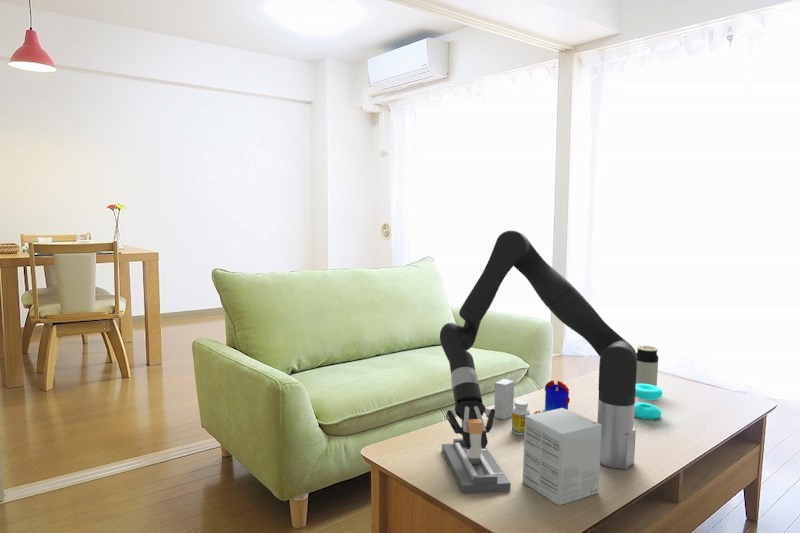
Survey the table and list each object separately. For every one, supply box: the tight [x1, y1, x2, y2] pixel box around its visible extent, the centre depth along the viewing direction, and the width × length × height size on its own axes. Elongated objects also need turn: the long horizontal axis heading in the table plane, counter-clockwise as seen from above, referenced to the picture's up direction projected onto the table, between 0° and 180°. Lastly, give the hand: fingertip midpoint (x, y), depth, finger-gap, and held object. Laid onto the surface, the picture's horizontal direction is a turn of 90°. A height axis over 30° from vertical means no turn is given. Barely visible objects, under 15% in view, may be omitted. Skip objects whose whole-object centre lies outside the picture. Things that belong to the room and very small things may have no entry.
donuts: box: [634, 384, 663, 421], centre depth 185 cm, size 10×10×10 cm
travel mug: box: [636, 345, 659, 387], centre depth 208 cm, size 8×8×18 cm
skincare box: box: [493, 378, 515, 421], centre depth 182 cm, size 6×4×12 cm
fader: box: [467, 419, 484, 464], centre depth 143 cm, size 3×3×11 cm
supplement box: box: [522, 408, 602, 506], centre depth 134 cm, size 13×13×18 cm
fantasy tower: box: [533, 380, 570, 414], centre depth 185 cm, size 12×12×12 cm
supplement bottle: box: [511, 399, 531, 436], centre depth 169 cm, size 5×5×10 cm
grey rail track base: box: [441, 437, 511, 494], centre depth 144 cm, size 24×12×4 cm, turn 7°
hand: (476, 447), depth 141 cm, fingers closed on fader, 3 cm apart
